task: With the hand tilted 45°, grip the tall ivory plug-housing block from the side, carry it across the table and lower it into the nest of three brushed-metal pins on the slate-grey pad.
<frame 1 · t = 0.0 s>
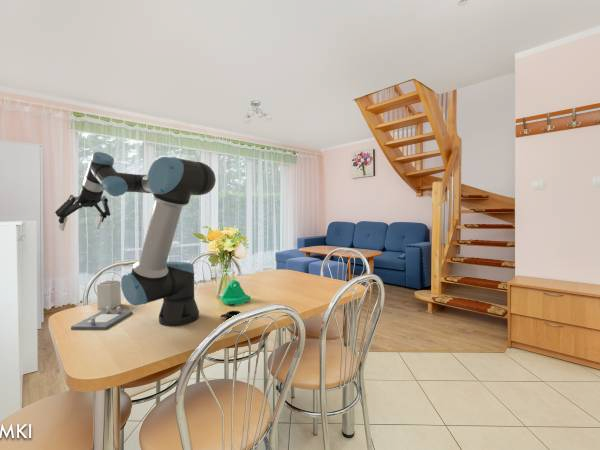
hand: (79, 227, 132), 36 cm above the table, tool tilted 35°, fingers open, 13 cm apart
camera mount: (236, 303, 143), on the table
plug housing: (109, 306, 136), on the table
duct tape: (233, 320, 121), on the table
pin pad: (103, 320, 119), on the table
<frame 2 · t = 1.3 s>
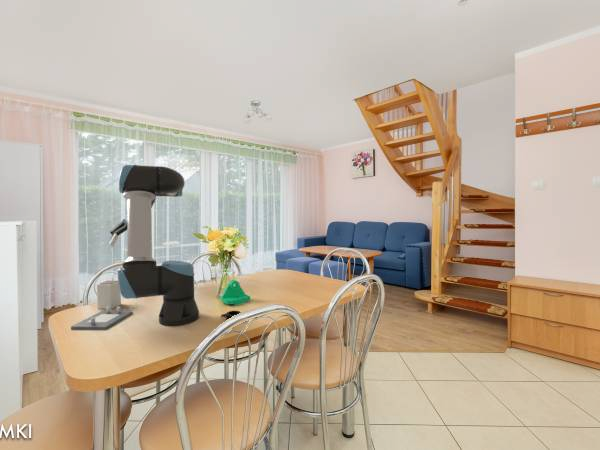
hand: (124, 245, 148), 26 cm above the table, tool tilted 45°, fingers open, 13 cm apart
nothing on the table moved.
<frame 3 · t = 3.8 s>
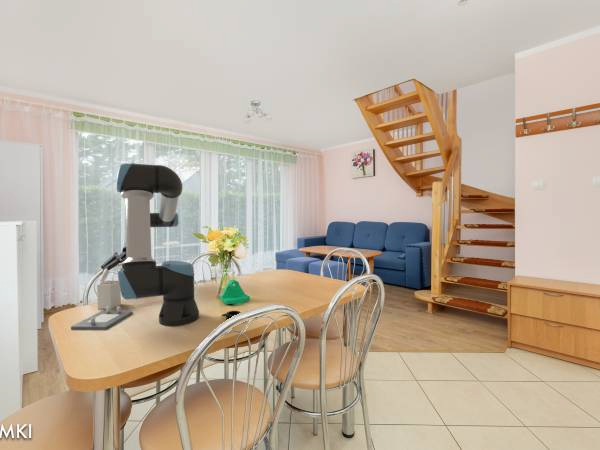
hand: (115, 282, 141), 10 cm above the table, tool tilted 45°, fingers open, 13 cm apart
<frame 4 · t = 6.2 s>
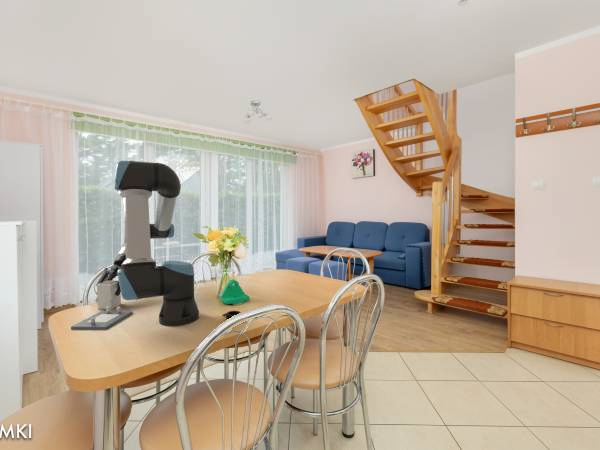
hand: (104, 301, 133), 3 cm above the table, tool tilted 45°, fingers closed on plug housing, 6 cm apart
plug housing: (109, 306, 136), on the table, touching gripper
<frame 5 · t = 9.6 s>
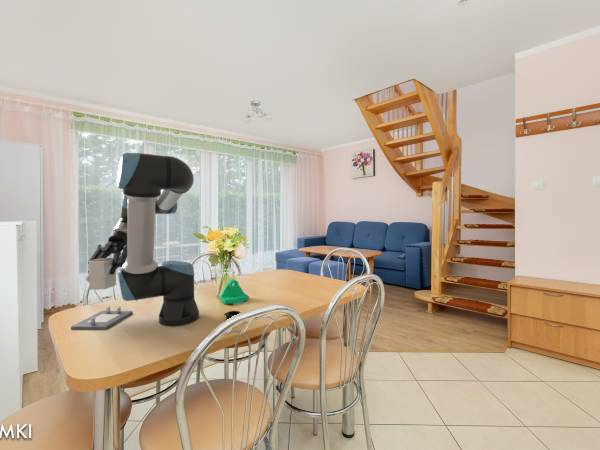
hand: (96, 280, 116), 17 cm above the table, tool tilted 45°, fingers closed on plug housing, 6 cm apart
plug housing: (103, 287, 120), point 13 cm above the table, touching gripper
when the fingers open (5 cm above the table, at t = 12.8 s): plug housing stays where it is, resting on pin pad.
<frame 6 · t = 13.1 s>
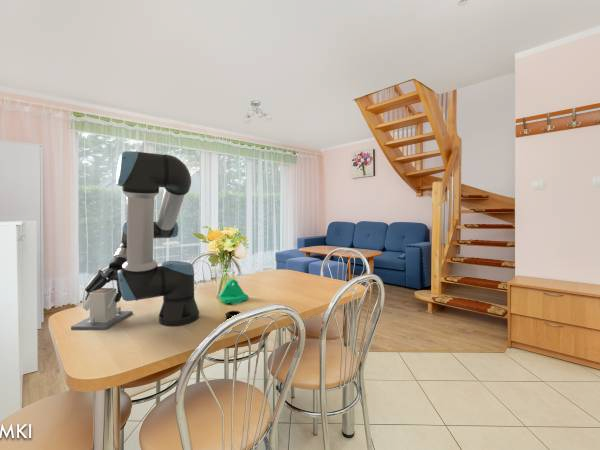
hand: (97, 309, 116), 6 cm above the table, tool tilted 45°, fingers open, 9 cm apart
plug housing: (103, 317, 119), point 1 cm above the table, touching pin pad
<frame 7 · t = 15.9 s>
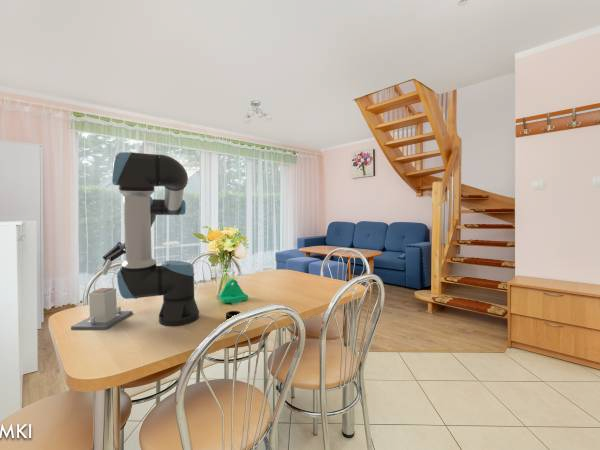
hand: (119, 273, 129), 17 cm above the table, tool tilted 45°, fingers open, 13 cm apart
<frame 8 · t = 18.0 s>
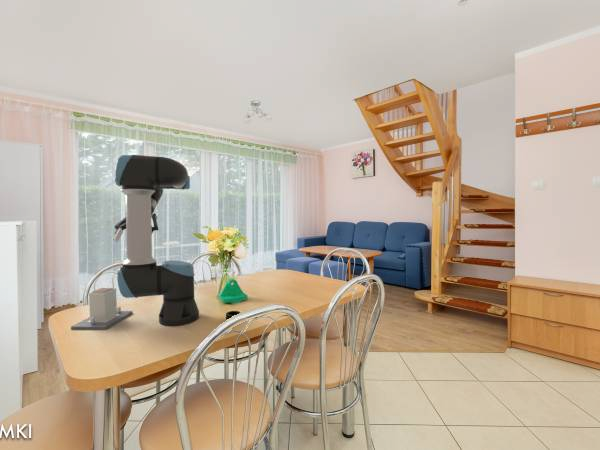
hand: (129, 240, 138), 30 cm above the table, tool tilted 45°, fingers open, 13 cm apart
at the end: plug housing 0.0 cm off-centre on the pin pad, point 1.1 cm above the pin pad's base; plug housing tilted 0°; the gripper is holding nothing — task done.
